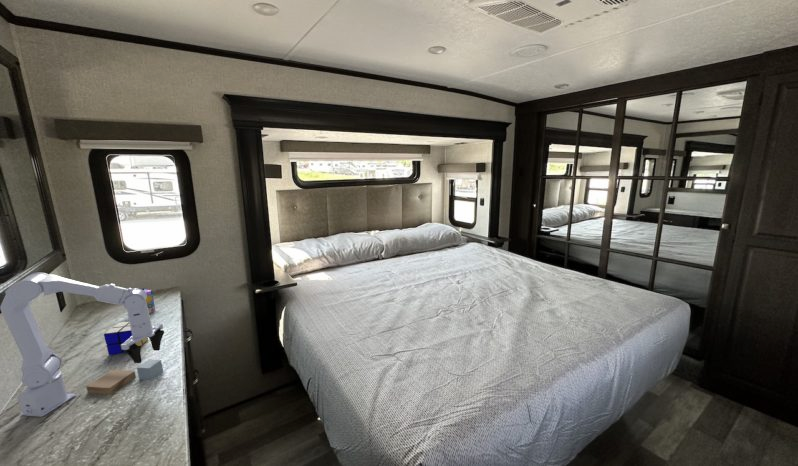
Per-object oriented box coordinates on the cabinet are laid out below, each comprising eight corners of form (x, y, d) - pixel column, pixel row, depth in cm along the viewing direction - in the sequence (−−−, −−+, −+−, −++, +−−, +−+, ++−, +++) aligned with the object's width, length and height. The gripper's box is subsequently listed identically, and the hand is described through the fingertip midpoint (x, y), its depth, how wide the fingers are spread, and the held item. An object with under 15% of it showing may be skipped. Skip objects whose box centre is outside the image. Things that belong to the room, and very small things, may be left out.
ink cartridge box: (137, 319, 158) (131, 293, 155) (129, 317, 160) (124, 291, 157) (156, 310, 167) (151, 286, 164) (149, 309, 169) (144, 285, 166)
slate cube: (151, 380, 112) (149, 368, 111) (139, 379, 112) (136, 367, 111) (163, 371, 117) (160, 359, 116) (151, 370, 117) (149, 359, 116)
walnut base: (111, 395, 105) (109, 388, 104) (88, 393, 106) (86, 386, 105) (135, 378, 114) (134, 371, 113) (114, 376, 115) (112, 369, 114)
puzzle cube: (108, 355, 127) (103, 334, 125) (122, 342, 137) (117, 322, 134) (136, 351, 130) (132, 330, 128) (148, 339, 139) (144, 319, 137)
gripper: (131, 333, 102) (138, 369, 105) (167, 313, 117) (173, 345, 119) (112, 332, 103) (120, 368, 106) (150, 312, 117) (157, 344, 120)
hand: (147, 356), depth 113 cm, fingers open, 7 cm apart
